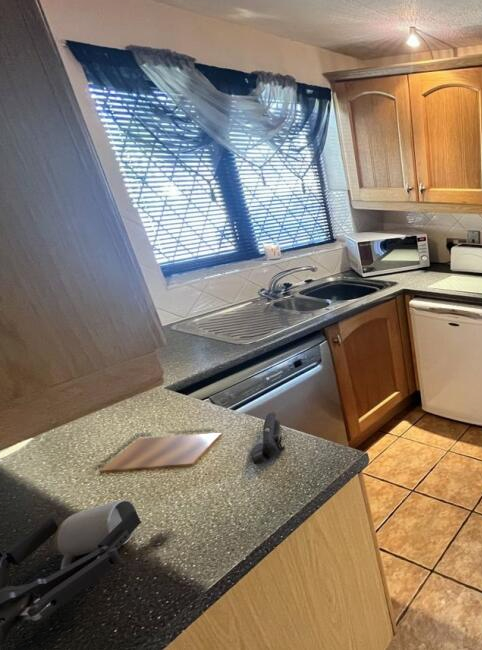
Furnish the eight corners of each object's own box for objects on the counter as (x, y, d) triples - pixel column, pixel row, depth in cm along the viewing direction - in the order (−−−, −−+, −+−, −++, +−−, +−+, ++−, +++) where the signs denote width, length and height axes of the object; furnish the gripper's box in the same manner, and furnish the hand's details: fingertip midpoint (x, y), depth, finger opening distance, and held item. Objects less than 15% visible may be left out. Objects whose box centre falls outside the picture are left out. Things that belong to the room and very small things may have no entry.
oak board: (99, 472, 87) (98, 470, 86) (139, 440, 97) (138, 438, 97) (193, 465, 88) (192, 463, 88) (222, 434, 98) (221, 432, 98)
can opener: (286, 460, 89) (280, 441, 87) (251, 470, 86) (244, 450, 84) (290, 418, 104) (285, 401, 102) (260, 426, 101) (255, 408, 99)
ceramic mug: (89, 532, 72) (71, 502, 69) (143, 519, 74) (128, 490, 72) (48, 588, 63) (25, 556, 60) (111, 571, 65) (92, 539, 62)
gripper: (-156, 695, 48) (28, 541, 68) (58, 672, 50) (176, 529, 70) (-195, 659, 46) (8, 510, 65) (31, 636, 47) (162, 498, 67)
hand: (95, 520), depth 68 cm, fingers open, 13 cm apart
